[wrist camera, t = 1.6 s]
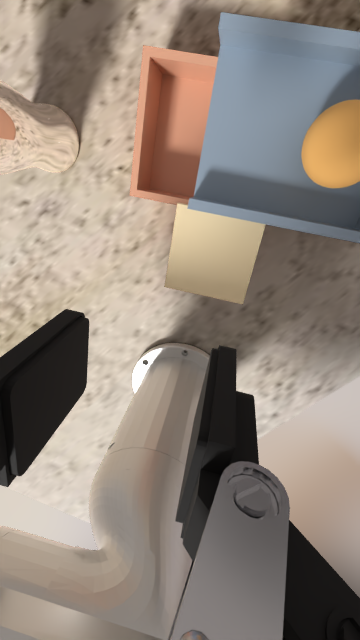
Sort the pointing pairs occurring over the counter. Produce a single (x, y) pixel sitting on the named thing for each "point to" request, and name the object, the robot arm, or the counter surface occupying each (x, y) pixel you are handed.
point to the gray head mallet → (263, 151)
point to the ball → (334, 146)
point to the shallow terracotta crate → (171, 123)
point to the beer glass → (34, 134)
